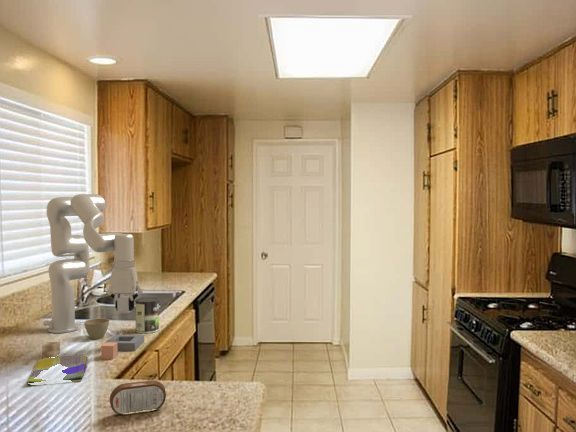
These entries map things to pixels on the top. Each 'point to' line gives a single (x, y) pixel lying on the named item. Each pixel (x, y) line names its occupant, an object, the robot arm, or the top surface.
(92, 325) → the flower pot
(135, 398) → the tin
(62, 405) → the top surface
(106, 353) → the terracotta block
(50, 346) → the birch block
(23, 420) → the top surface
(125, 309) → the steel block
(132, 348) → the bearing plate
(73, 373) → the dish towel
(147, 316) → the coffee can
